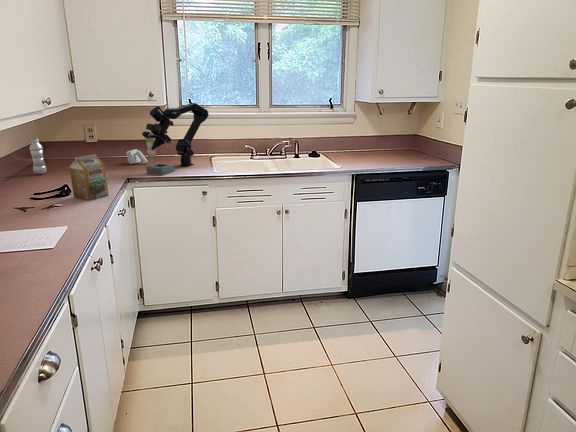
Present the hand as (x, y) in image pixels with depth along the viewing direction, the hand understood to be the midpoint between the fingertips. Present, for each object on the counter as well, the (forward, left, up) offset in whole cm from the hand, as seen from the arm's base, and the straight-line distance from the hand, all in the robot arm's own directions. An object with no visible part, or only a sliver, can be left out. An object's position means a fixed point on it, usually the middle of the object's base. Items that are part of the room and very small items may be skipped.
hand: (149, 149), depth 251 cm
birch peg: (-1, 0, -7) cm, 7 cm away
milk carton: (+52, +8, -14) cm, 54 cm away
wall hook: (-19, -25, -14) cm, 34 cm away
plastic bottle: (+27, -55, -14) cm, 63 cm away
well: (-4, +4, -14) cm, 15 cm away
